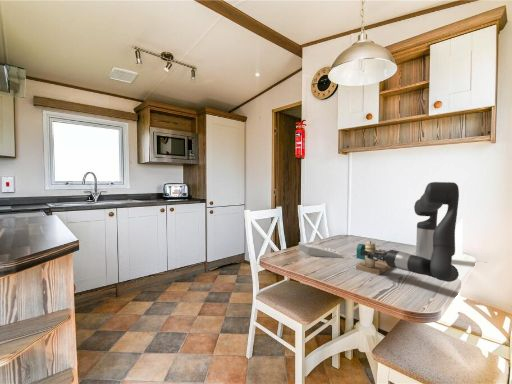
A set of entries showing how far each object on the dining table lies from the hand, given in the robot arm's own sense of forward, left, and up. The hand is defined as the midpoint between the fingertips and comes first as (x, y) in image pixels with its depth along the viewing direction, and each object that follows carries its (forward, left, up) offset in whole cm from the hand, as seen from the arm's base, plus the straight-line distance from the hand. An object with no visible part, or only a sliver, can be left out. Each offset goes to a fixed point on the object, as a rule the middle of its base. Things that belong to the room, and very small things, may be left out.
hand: (365, 251), depth 125 cm
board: (-7, +3, -9) cm, 11 cm away
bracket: (-23, -8, -9) cm, 26 cm away
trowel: (-7, -30, -9) cm, 32 cm away
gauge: (0, +3, -6) cm, 7 cm away
